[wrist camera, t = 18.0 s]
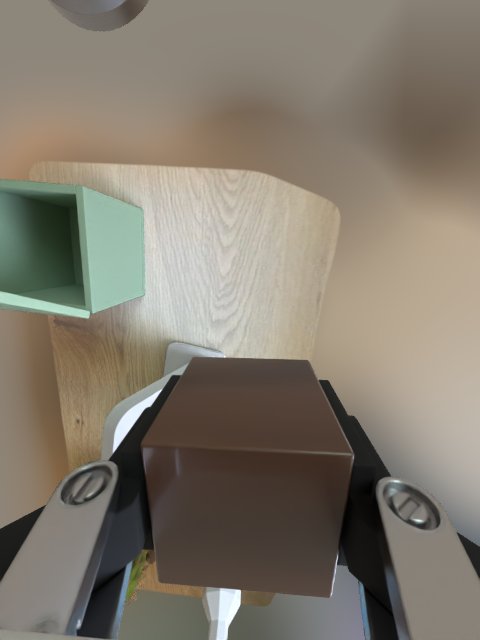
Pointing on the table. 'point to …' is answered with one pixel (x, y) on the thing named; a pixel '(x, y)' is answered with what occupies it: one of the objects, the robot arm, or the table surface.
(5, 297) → the green box lid
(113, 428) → the phone holder
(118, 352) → the table surface
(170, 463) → the block
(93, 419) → the table surface
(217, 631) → the low poly bottle
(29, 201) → the box
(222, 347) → the table surface
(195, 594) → the table surface
